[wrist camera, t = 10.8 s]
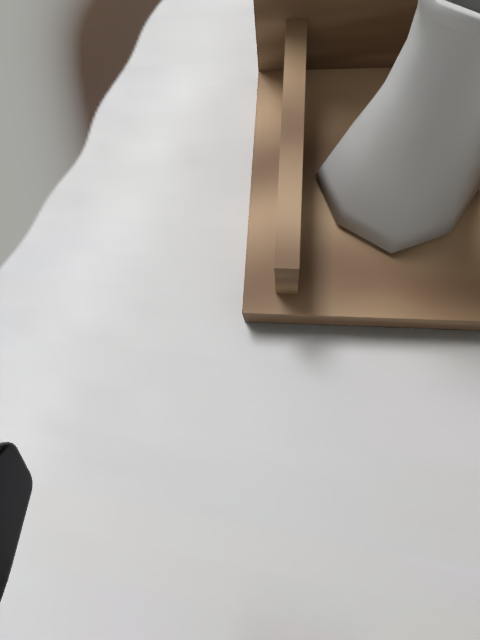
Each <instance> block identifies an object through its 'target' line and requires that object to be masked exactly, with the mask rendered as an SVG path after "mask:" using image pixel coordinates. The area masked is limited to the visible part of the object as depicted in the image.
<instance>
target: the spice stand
mask: <svg viewBox="0 0 480 640" xmlns="http://www.w3.org/2000/svg"><path fill="white" fill-rule="evenodd" d="M417 5H418V0H254V14H255V27H256V41H257V55H258V69H259V74H258V89H257V103H256V118H255V133H254V148H253V162H252V177H251V192H250V206H249V221H248V236H247V250H246V265H245V280H244V294H243V309H242V314H243V317H244V320H245V322H266V323H293V324H320V325H347V326H374V327H401V328H427V329H454V330H480V188H479V190H478V191H477V193H476V194H475V196H474V198H473V199H472V201H471V202H470V204H469V205H468V207H467V209H466V210H465V212H464V213H463V215H462V216H461V218H460V220H459V221H458V223H457V224H456V226H455V227H454V229H453V231H452V232H451V233H450V234H447V235H444V236H441V237H438V238H435V239H432V240H430V241H427V242H424V243H421V244H418V245H415V246H412V247H409V248H406V249H403V250H400V251H397V252H395V253H392V254H391V253H389V252H388V251H386V250H384V249H382V248H380V247H378V246H377V245H375V244H373V243H371V242H369V241H368V240H366V239H364V238H362V237H360V236H358V235H357V234H355V233H353V232H351V231H349V230H348V229H346V228H344V227H342V226H340V225H339V224H337V222H336V220H335V218H334V216H333V213H332V211H331V209H330V207H329V204H328V202H327V200H326V198H325V195H324V193H323V191H322V189H321V186H320V184H319V182H318V180H317V177H316V175H315V174H316V173H317V172H318V170H319V169H320V168H321V166H322V165H323V163H324V162H325V161H326V159H327V158H328V157H329V155H330V154H331V152H332V151H333V150H334V148H335V147H336V146H337V144H338V143H339V141H340V140H341V139H342V137H343V136H344V135H345V133H346V132H347V130H348V129H349V128H350V126H351V125H352V124H353V122H354V121H355V120H356V119H357V117H358V116H359V115H360V114H361V112H362V111H363V110H364V109H365V108H366V106H367V105H368V104H369V103H370V101H371V100H372V99H373V98H374V96H375V95H376V94H377V92H378V91H379V90H380V88H381V87H382V85H383V84H384V83H385V81H386V79H387V77H388V75H389V73H390V71H391V69H392V67H393V65H394V63H395V61H396V59H397V57H398V56H399V54H400V52H401V50H402V48H403V46H404V44H405V42H406V40H407V38H408V35H409V31H410V28H411V25H412V22H413V19H414V15H415V12H416V9H417Z"/></svg>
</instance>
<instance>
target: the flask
mask: <svg viewBox="0 0 480 640" xmlns="http://www.w3.org/2000/svg"><path fill="white" fill-rule="evenodd" d="M315 175H316V177H317V180H318V182H319V184H320V186H321V189H322V191H323V193H324V195H325V198H326V200H327V202H328V204H329V207H330V209H331V211H332V213H333V216H334V218H335V220H336V222H337V224H339V225H340V226H342V227H344V228H346V229H348V230H349V231H351V232H353V233H355V234H357V235H358V236H360V237H362V238H364V239H366V240H368V241H369V242H371V243H373V244H375V245H377V246H378V247H380V248H382V249H384V250H386V251H388V252H389V253H391V254H392V253H395V252H397V251H400V250H403V249H406V248H409V247H412V246H415V245H418V244H421V243H424V242H427V241H430V240H432V239H435V238H438V237H441V236H444V235H447V234H450V233H451V232H452V231H453V229H454V227H455V226H456V224H457V223H458V221H459V220H460V218H461V216H462V215H463V213H464V212H465V210H466V209H467V207H468V205H469V204H470V202H471V201H472V199H473V198H474V196H475V194H476V193H477V191H478V190H479V188H480V0H418V5H417V9H416V12H415V15H414V19H413V22H412V25H411V28H410V31H409V35H408V38H407V40H406V42H405V44H404V46H403V48H402V50H401V52H400V54H399V56H398V57H397V59H396V61H395V63H394V65H393V67H392V69H391V71H390V73H389V75H388V77H387V79H386V81H385V83H384V84H383V85H382V87H381V88H380V90H379V91H378V92H377V94H376V95H375V96H374V98H373V99H372V100H371V101H370V103H369V104H368V105H367V106H366V108H365V109H364V110H363V111H362V112H361V114H360V115H359V116H358V117H357V119H356V120H355V121H354V122H353V124H352V125H351V126H350V128H349V129H348V130H347V132H346V133H345V135H344V136H343V137H342V139H341V140H340V141H339V143H338V144H337V146H336V147H335V148H334V150H333V151H332V152H331V154H330V155H329V157H328V158H327V159H326V161H325V162H324V163H323V165H322V166H321V168H320V169H319V170H318V172H317V173H316V174H315Z"/></svg>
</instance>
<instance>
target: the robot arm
mask: <svg viewBox="0 0 480 640" xmlns="http://www.w3.org/2000/svg"><path fill="white" fill-rule="evenodd" d="M31 492H32V477H31V474H30V472H29V470H28V468H27V466H26V464H25V462H24V460H23V458H22V456H21V455H20V453H19V451H18V449H17V447H16V446H15V445H14V444H13V443H10V442H2V443H0V601H1V599H2V596H3V593H4V590H5V587H6V584H7V581H8V578H9V574H10V571H11V567H12V564H13V560H14V556H15V553H16V549H17V545H18V541H19V537H20V533H21V530H22V526H23V522H24V518H25V514H26V511H27V507H28V503H29V499H30V495H31Z"/></svg>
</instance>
